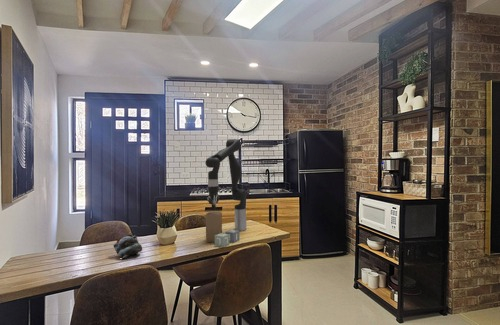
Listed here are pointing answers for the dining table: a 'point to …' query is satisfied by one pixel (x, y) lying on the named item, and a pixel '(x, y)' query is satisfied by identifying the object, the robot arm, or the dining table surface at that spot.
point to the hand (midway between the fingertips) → (213, 209)
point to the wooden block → (213, 225)
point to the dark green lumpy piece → (127, 246)
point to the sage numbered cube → (221, 240)
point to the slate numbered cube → (233, 235)
